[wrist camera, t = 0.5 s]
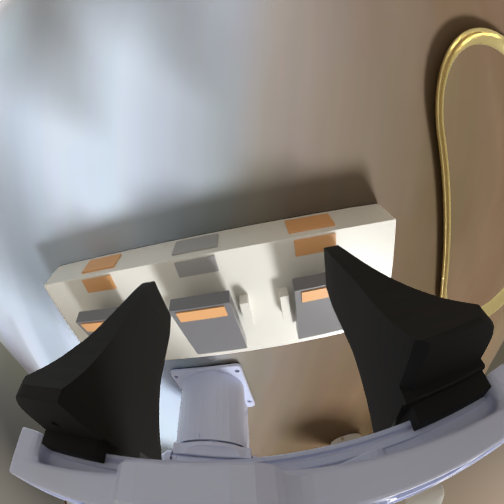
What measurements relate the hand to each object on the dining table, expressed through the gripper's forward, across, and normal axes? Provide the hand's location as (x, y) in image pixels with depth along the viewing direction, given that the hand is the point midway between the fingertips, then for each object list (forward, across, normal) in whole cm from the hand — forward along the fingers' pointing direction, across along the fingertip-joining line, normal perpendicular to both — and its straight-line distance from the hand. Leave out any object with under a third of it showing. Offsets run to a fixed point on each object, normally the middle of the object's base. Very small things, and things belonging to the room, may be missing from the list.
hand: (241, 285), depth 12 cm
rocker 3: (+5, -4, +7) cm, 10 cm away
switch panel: (+10, +4, +7) cm, 12 cm away
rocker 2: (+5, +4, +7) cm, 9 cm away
